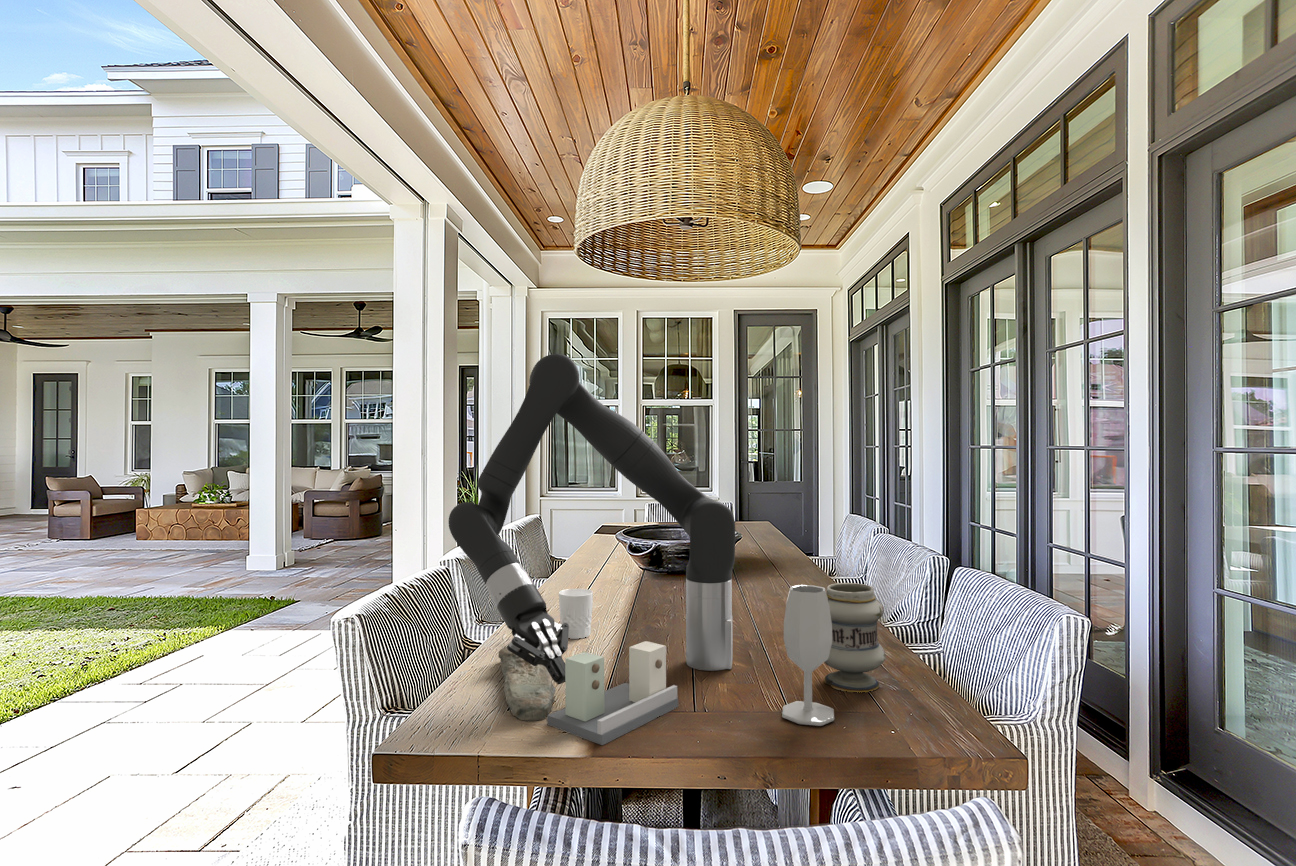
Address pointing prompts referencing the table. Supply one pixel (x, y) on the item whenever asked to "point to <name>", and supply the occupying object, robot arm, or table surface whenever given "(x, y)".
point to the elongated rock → (526, 687)
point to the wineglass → (808, 648)
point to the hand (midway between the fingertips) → (564, 680)
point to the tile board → (617, 714)
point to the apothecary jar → (854, 637)
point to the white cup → (576, 611)
